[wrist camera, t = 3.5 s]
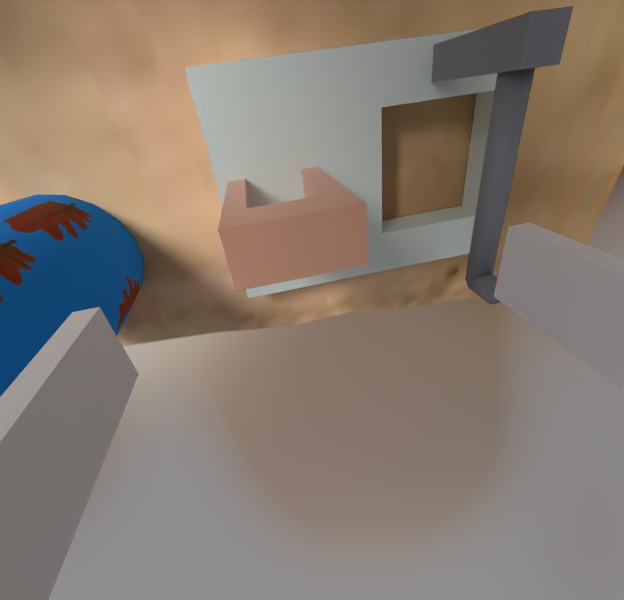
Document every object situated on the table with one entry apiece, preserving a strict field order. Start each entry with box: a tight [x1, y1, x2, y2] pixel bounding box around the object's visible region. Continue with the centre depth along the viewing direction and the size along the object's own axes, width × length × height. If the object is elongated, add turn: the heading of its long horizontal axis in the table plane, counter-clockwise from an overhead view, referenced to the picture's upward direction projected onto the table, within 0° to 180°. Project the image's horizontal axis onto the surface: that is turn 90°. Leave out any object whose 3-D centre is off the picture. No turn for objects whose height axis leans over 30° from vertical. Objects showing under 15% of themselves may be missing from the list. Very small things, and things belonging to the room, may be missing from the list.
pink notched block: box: [218, 166, 368, 291], centre depth 19 cm, size 6×3×10 cm, turn 97°
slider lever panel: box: [185, 6, 573, 304], centre depth 21 cm, size 22×16×12 cm
